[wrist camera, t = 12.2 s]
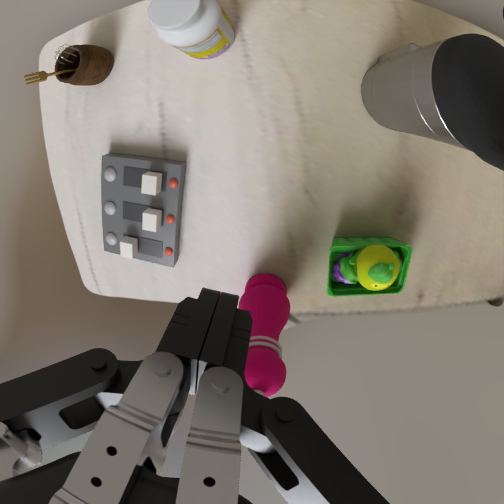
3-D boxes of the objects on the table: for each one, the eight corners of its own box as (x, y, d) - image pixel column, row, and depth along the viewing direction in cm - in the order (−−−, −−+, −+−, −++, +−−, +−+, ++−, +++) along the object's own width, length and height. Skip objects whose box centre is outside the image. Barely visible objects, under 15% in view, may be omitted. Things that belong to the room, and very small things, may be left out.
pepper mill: (232, 283, 42) (205, 394, 25) (273, 262, 40) (267, 377, 23) (258, 314, 45) (247, 423, 27) (297, 296, 43) (304, 410, 25)
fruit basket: (321, 276, 41) (332, 329, 31) (324, 221, 37) (340, 264, 27) (391, 274, 39) (417, 322, 30) (400, 221, 35) (436, 260, 25)
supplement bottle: (192, 13, 24) (152, -25, 13) (242, 20, 25) (223, -23, 13) (176, 57, 27) (127, 35, 16) (225, 65, 28) (197, 41, 17)
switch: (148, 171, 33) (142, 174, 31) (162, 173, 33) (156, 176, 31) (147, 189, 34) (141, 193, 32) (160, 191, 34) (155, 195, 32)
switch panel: (109, 153, 34) (101, 156, 32) (186, 162, 34) (181, 165, 32) (110, 244, 41) (103, 251, 39) (177, 260, 41) (173, 268, 39)
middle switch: (148, 207, 35) (142, 212, 33) (161, 210, 35) (156, 215, 33) (147, 224, 36) (142, 229, 35) (161, 226, 36) (155, 232, 35)
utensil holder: (120, 69, 28) (64, 63, 18) (88, 94, 30) (30, 99, 19) (108, 40, 26) (53, 27, 15) (77, 65, 27) (20, 63, 17)
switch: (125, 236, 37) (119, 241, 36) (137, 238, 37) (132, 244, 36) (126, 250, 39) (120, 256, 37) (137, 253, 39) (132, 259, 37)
